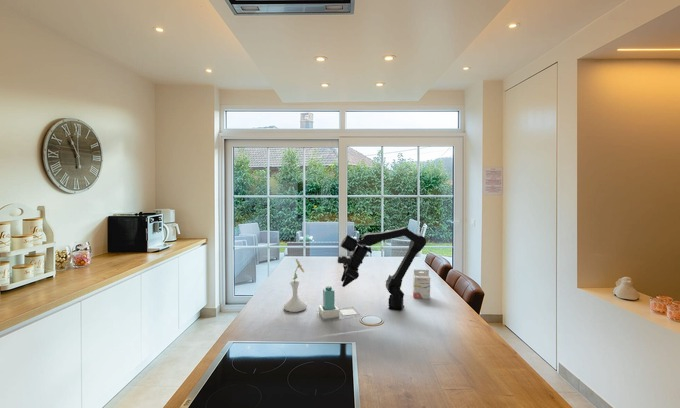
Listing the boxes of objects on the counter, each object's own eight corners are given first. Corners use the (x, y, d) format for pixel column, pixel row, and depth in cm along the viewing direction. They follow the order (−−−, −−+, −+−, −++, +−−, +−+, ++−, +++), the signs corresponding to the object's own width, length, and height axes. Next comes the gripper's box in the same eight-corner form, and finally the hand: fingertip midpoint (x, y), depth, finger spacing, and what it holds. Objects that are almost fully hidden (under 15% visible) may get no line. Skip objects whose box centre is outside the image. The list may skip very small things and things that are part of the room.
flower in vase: (302, 315, 162) (302, 263, 161) (280, 313, 164) (279, 262, 163) (310, 305, 175) (309, 257, 173) (289, 304, 177) (288, 256, 176)
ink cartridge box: (414, 298, 184) (414, 271, 183) (413, 295, 188) (413, 269, 188) (430, 298, 183) (430, 271, 182) (428, 295, 188) (429, 269, 187)
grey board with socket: (352, 307, 171) (352, 300, 170) (361, 317, 158) (361, 309, 158) (315, 312, 165) (315, 304, 165) (321, 322, 153) (321, 313, 153)
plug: (332, 312, 163) (331, 285, 162) (334, 315, 159) (334, 288, 158) (323, 313, 162) (322, 286, 161) (325, 316, 158) (325, 289, 157)
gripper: (342, 245, 176) (327, 271, 176) (345, 252, 158) (328, 281, 158) (361, 255, 177) (346, 281, 177) (366, 263, 158) (349, 292, 159)
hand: (342, 283), depth 168 cm, fingers open, 9 cm apart
